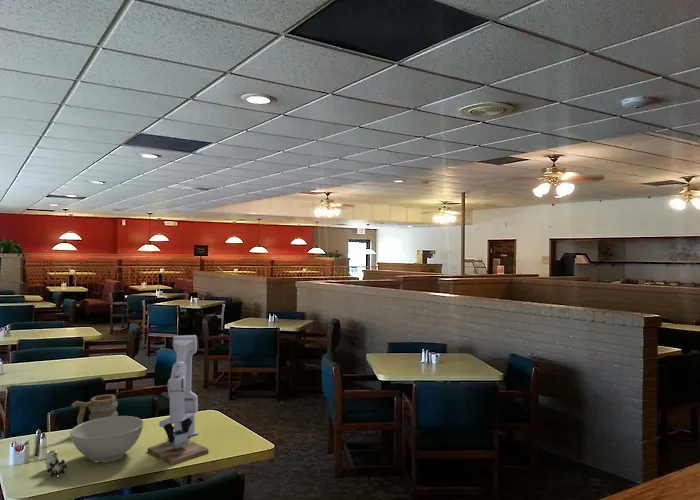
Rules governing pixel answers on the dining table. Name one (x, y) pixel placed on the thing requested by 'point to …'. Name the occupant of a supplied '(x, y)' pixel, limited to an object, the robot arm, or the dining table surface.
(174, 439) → the collar
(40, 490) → the dining table surface
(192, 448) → the post board
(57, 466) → the valve
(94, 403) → the tankard
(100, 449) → the decorative bowl
